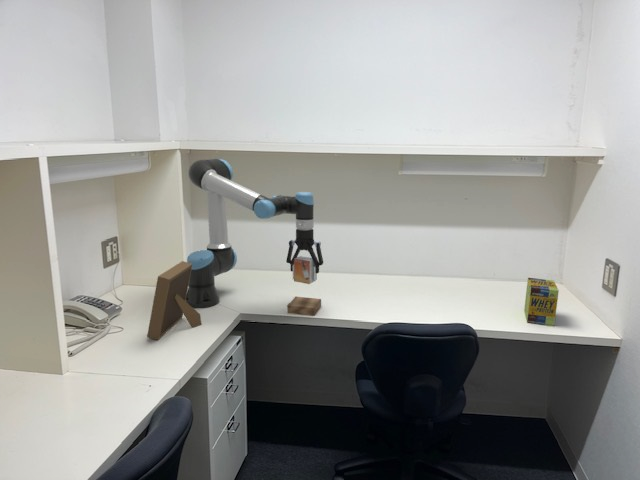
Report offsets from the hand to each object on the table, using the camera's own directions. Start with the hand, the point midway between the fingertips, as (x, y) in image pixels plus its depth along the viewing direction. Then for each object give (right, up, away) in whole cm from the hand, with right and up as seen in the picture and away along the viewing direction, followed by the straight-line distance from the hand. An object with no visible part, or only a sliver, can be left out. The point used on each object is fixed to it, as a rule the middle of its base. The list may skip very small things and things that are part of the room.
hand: (304, 279), depth 198 cm
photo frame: (-49, -18, -19) cm, 56 cm away
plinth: (0, -14, +3) cm, 15 cm away
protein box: (+100, -16, -4) cm, 102 cm away
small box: (0, -1, 0) cm, 1 cm away
